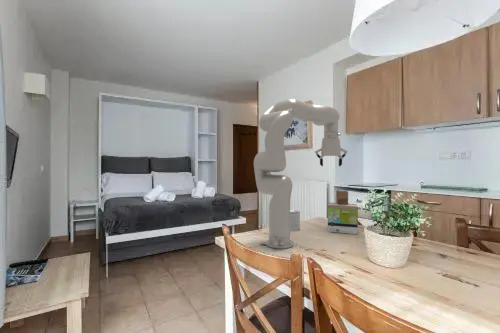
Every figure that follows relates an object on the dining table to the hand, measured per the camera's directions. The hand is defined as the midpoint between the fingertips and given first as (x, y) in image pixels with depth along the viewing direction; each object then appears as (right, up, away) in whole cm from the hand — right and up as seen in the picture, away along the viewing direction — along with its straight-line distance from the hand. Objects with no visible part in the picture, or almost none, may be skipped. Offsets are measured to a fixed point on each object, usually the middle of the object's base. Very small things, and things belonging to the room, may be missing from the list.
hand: (330, 166), depth 146 cm
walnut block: (+5, -21, -4) cm, 21 cm away
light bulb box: (-23, -35, +2) cm, 42 cm away
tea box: (+5, -35, -4) cm, 36 cm away
